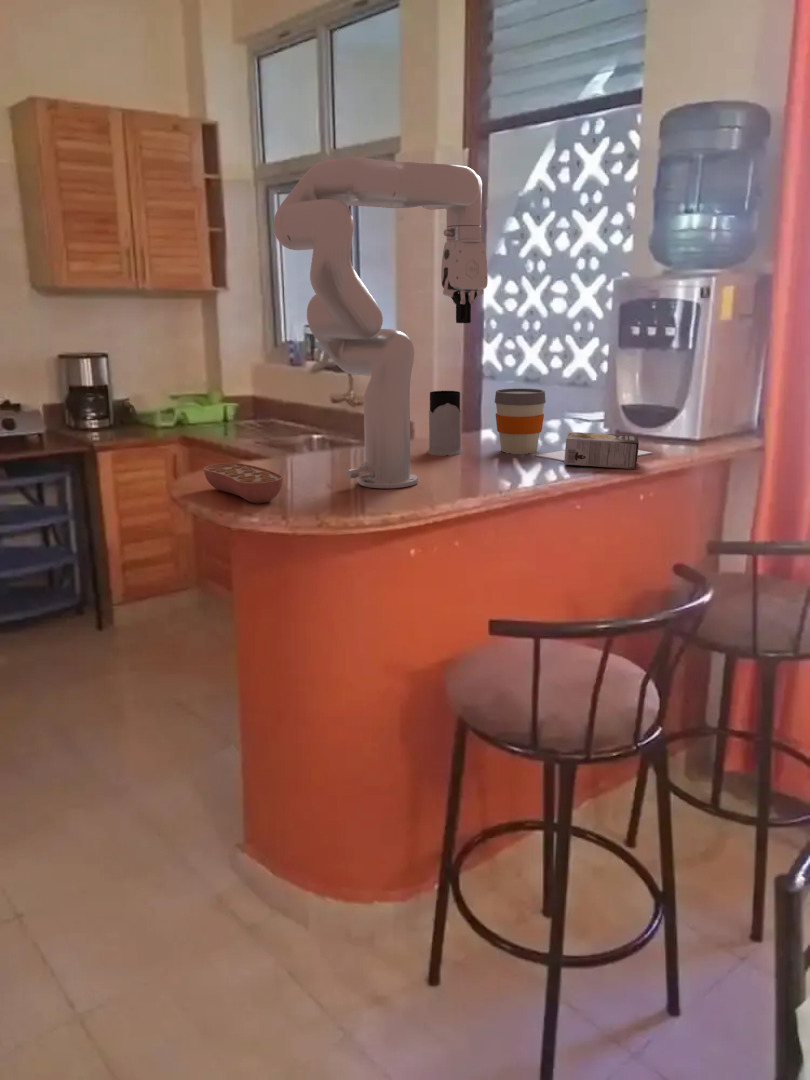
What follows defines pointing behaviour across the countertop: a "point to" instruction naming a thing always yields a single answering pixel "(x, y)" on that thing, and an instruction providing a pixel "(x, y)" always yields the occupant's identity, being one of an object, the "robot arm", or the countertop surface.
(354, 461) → the countertop surface
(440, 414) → the glass holder
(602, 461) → the coffee box
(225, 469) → the brown oblong piece
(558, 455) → the mat
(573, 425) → the countertop surface
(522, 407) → the reusable coffee cup
